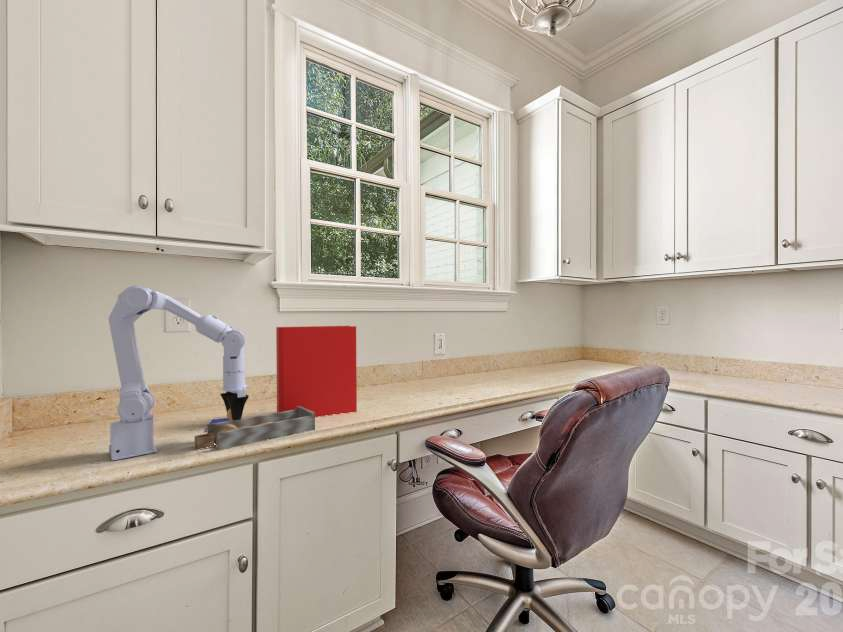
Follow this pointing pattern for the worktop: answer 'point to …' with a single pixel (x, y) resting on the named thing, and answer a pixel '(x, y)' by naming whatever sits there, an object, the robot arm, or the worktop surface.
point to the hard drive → (219, 420)
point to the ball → (229, 415)
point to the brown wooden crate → (204, 440)
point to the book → (316, 369)
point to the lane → (261, 427)
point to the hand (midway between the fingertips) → (234, 418)
